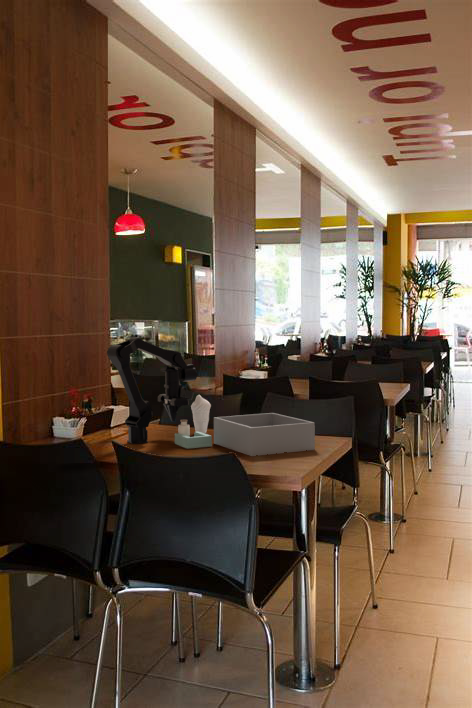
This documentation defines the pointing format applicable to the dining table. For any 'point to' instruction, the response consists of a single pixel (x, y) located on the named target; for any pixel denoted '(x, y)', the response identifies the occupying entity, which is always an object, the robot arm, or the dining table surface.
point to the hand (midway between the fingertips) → (173, 421)
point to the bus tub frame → (264, 433)
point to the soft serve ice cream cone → (200, 414)
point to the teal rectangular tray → (193, 440)
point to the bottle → (184, 428)
